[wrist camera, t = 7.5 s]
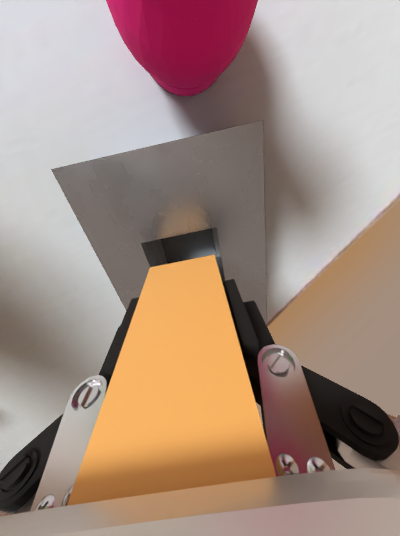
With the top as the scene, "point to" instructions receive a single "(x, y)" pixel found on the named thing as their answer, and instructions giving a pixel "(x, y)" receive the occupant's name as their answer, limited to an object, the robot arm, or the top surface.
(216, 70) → the pepper mill
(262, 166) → the socket block
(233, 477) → the wedge peg
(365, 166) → the top surface
